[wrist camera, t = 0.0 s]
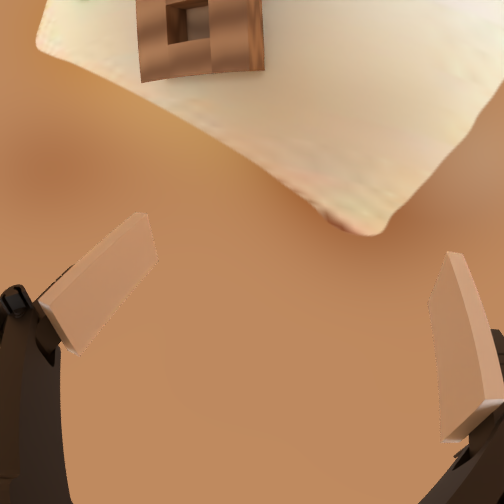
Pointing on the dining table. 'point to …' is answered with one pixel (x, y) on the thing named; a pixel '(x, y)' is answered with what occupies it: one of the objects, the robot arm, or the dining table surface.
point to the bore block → (198, 37)
